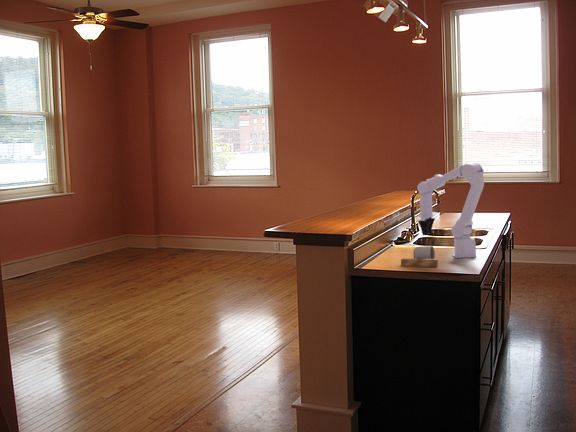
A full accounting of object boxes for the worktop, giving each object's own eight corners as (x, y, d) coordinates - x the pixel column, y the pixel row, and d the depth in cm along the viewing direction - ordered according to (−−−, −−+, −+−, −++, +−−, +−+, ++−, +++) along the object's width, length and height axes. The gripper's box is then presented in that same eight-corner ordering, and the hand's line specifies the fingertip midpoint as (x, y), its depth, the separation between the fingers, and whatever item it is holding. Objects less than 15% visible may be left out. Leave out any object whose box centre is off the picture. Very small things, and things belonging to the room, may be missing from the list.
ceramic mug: (417, 260, 300) (417, 244, 299) (435, 261, 296) (434, 244, 295) (410, 265, 291) (410, 248, 290) (428, 265, 287) (428, 248, 286)
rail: (401, 265, 290) (400, 259, 289) (402, 264, 291) (402, 258, 291) (436, 266, 283) (436, 260, 282) (437, 266, 284) (437, 259, 284)
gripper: (421, 205, 324) (422, 232, 325) (414, 207, 311) (415, 235, 312) (435, 204, 321) (436, 232, 322) (428, 207, 308) (429, 236, 309)
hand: (426, 234), depth 317 cm, fingers open, 7 cm apart
